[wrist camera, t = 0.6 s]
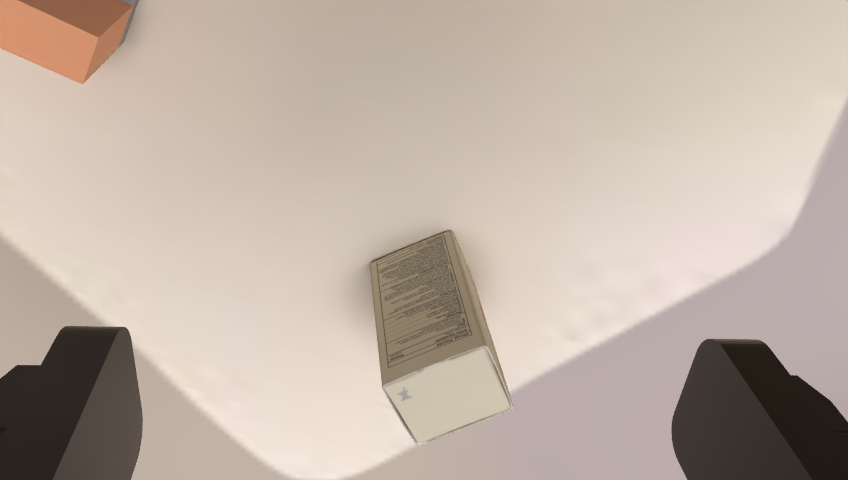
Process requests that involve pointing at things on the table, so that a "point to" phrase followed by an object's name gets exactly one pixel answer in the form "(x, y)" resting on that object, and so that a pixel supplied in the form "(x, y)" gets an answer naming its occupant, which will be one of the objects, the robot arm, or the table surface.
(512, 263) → the table surface
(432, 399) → the skincare box
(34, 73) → the table surface
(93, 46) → the rail
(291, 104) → the table surface
